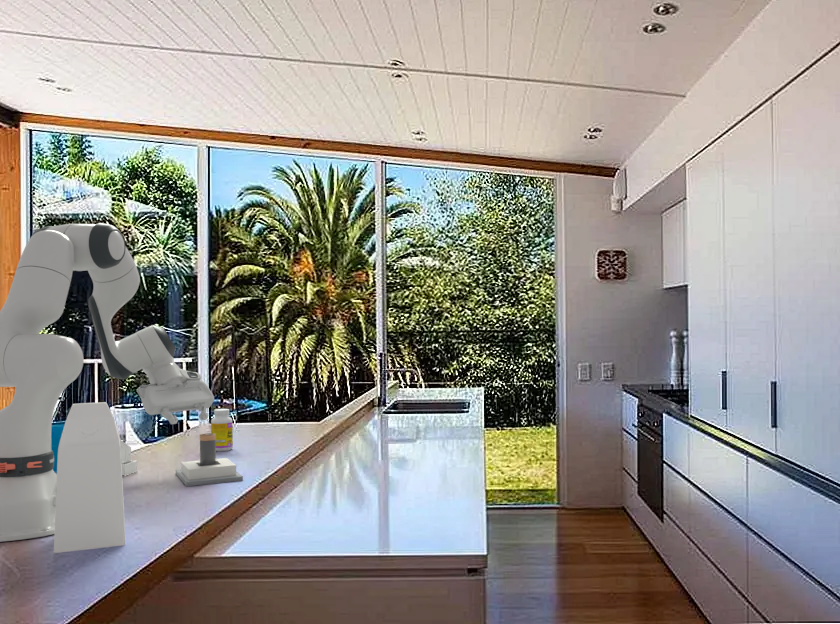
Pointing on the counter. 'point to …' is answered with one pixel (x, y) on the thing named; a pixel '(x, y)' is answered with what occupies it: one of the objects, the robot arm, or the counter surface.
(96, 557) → the counter surface
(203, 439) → the battery
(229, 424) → the supplement bottle
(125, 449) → the white angled block
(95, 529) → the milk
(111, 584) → the counter surface
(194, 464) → the socket
